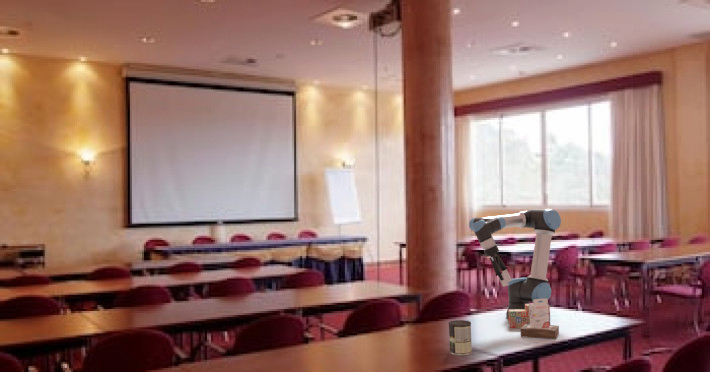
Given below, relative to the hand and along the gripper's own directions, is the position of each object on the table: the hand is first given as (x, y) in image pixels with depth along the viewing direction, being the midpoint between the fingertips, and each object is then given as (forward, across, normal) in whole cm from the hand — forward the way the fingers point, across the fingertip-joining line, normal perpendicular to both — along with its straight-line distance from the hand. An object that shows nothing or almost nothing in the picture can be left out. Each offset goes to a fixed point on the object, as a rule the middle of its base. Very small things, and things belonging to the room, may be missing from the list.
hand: (507, 283), depth 338 cm
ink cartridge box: (+26, +8, +7) cm, 28 cm away
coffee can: (+16, +54, -22) cm, 60 cm away
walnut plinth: (+29, +8, +5) cm, 31 cm away
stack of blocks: (+27, -11, -2) cm, 29 cm away
